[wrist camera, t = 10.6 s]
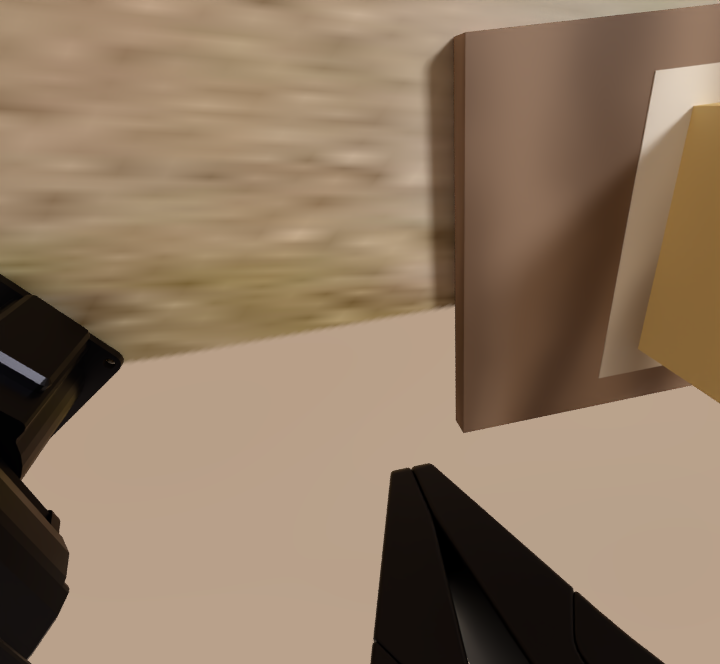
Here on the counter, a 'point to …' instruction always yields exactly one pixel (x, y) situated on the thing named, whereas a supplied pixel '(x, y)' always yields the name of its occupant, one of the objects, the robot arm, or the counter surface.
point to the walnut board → (568, 204)
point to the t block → (690, 264)
